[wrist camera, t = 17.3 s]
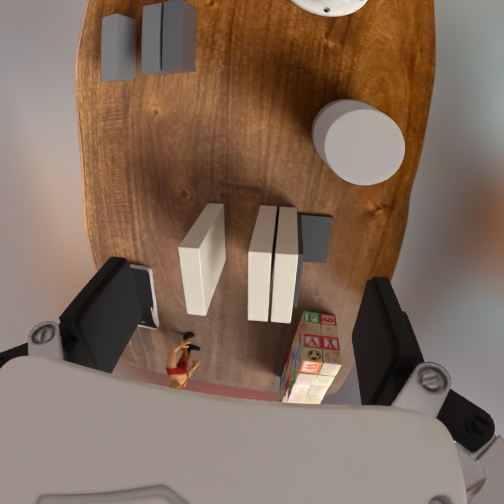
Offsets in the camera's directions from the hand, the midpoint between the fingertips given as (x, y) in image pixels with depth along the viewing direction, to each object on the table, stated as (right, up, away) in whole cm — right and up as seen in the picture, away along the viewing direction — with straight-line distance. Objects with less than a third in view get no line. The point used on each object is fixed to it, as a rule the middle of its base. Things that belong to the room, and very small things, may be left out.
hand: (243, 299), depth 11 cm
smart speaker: (+13, +18, +27) cm, 35 cm away
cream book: (-5, +5, +37) cm, 37 cm away
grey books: (-13, +31, +22) cm, 41 cm away
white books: (+7, +4, +35) cm, 36 cm away
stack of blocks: (+11, -18, +48) cm, 52 cm away
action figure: (-12, -17, +50) cm, 55 cm away
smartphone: (-22, -7, +46) cm, 51 cm away
